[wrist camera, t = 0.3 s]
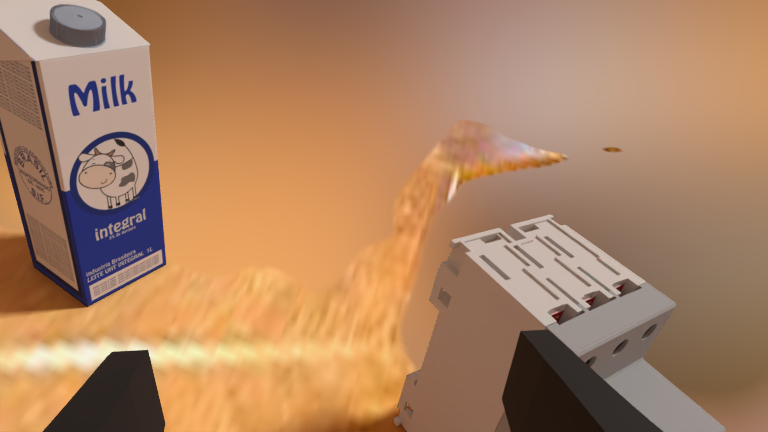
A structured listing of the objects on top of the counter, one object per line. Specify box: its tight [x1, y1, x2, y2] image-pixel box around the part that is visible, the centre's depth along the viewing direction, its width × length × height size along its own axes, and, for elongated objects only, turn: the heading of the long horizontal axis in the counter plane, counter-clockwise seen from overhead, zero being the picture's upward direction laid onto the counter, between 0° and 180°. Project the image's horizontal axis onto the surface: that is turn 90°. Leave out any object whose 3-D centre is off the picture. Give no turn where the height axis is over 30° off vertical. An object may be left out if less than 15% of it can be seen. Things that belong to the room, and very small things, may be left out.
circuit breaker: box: [393, 215, 726, 432], centre depth 26 cm, size 8×14×15 cm, turn 32°
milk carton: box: [0, 0, 166, 307], centre depth 35 cm, size 7×7×20 cm
